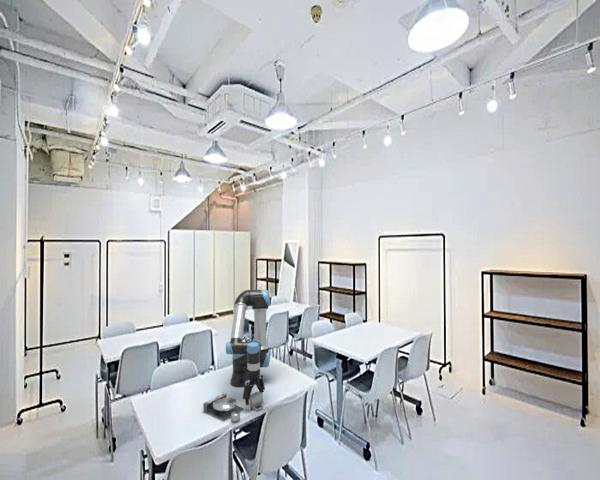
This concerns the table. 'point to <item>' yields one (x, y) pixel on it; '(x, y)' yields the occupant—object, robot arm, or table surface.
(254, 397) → the ceramic mug
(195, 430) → the table surface
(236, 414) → the steel spacer
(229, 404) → the pan
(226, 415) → the scale base
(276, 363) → the table surface
